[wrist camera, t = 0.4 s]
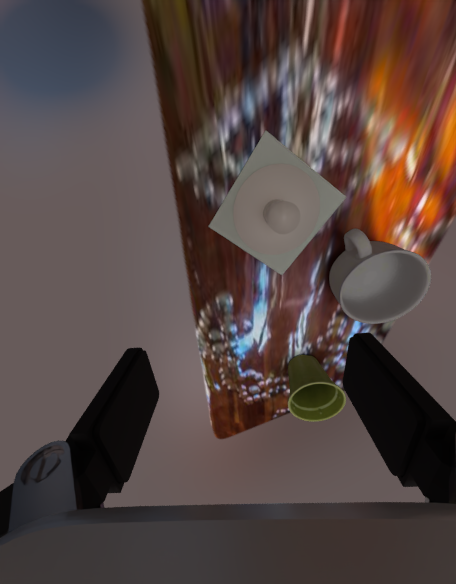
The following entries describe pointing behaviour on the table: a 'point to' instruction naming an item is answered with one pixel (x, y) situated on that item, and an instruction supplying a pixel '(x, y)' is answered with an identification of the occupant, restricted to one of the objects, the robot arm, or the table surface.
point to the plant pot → (312, 390)
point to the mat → (262, 156)
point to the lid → (276, 209)
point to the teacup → (377, 279)
